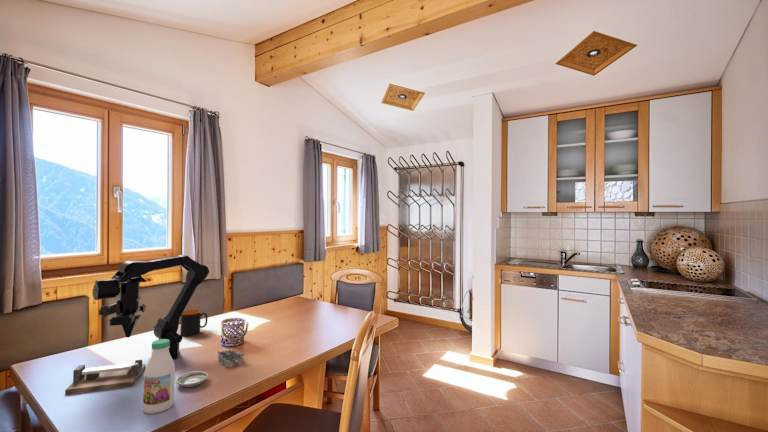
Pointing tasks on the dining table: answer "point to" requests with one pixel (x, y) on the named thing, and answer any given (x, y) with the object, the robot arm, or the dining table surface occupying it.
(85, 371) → the bar
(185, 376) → the saucer
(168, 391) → the milk bottle
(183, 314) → the mug
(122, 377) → the base
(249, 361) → the dining table surface
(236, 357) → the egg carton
